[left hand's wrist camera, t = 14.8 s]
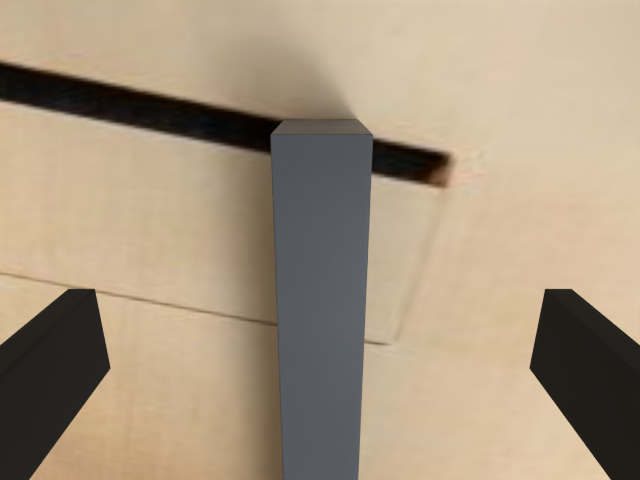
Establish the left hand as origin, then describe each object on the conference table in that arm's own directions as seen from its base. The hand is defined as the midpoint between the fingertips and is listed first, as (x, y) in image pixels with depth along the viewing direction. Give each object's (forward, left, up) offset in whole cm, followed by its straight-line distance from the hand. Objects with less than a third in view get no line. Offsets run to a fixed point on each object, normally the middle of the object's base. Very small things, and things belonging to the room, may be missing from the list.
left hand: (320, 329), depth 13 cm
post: (+14, +15, -19) cm, 28 cm away
